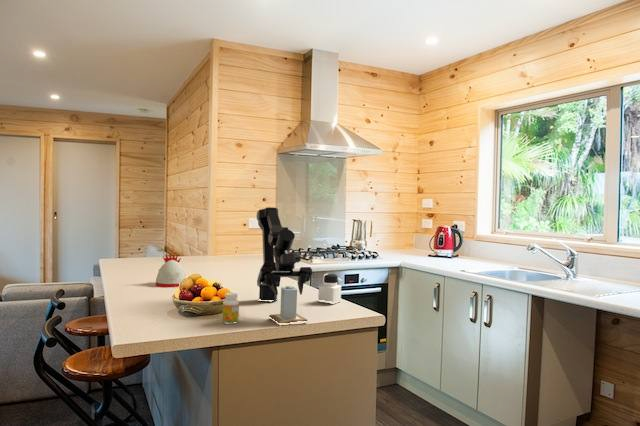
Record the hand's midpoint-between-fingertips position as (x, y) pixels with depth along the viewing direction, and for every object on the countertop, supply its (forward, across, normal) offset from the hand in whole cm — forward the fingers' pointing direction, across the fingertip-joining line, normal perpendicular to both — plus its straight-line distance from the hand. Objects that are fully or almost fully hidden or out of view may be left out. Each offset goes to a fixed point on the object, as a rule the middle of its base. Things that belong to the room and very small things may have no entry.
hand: (289, 294), depth 161 cm
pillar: (+5, 0, +6) cm, 8 cm away
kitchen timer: (-47, -37, +61) cm, 85 cm away
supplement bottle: (+5, -20, +9) cm, 22 cm away
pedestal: (+6, 0, +7) cm, 10 cm away
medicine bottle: (-12, +25, +26) cm, 39 cm away
